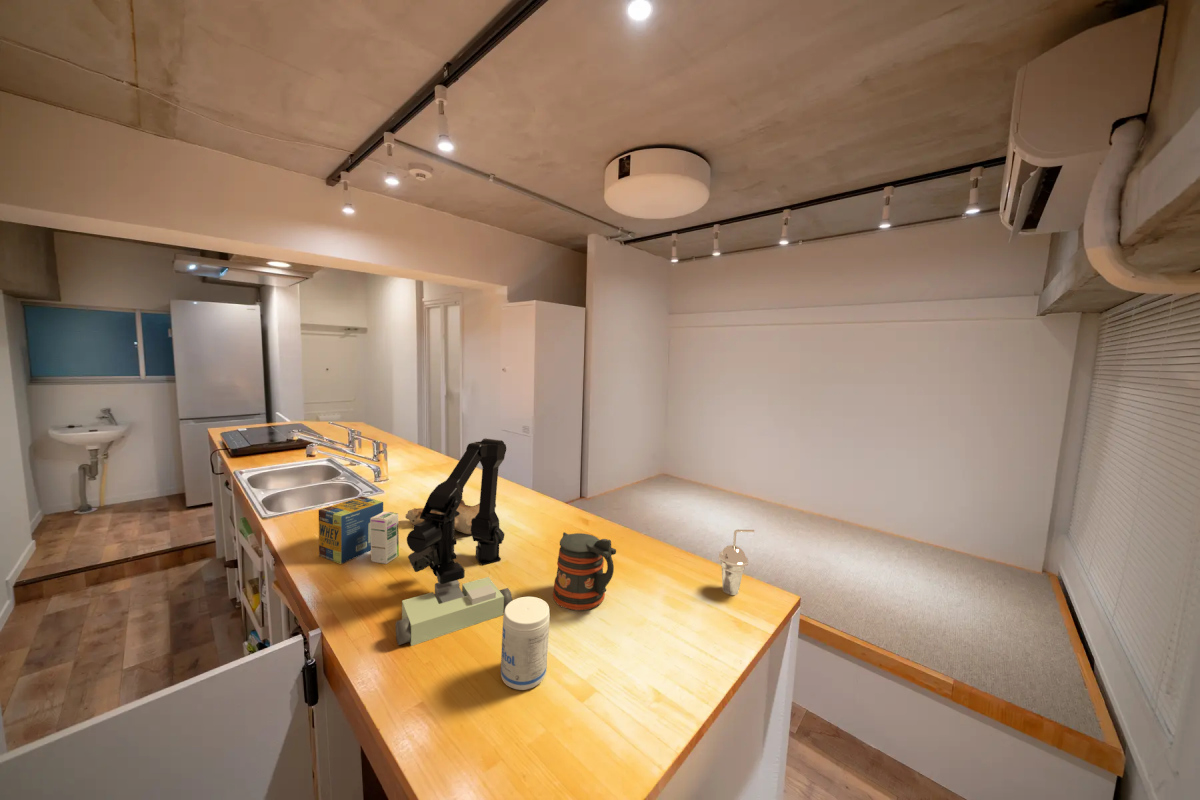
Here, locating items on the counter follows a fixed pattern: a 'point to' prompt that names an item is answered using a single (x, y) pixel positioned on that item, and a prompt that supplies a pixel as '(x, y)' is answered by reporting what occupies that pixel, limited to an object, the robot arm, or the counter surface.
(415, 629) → the green roller block
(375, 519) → the syrup box
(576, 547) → the beer stein
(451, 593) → the grey stepped block
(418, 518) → the tan knobby branched lump
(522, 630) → the supplement tub
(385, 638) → the counter surface
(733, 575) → the cup with straw
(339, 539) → the protein box
